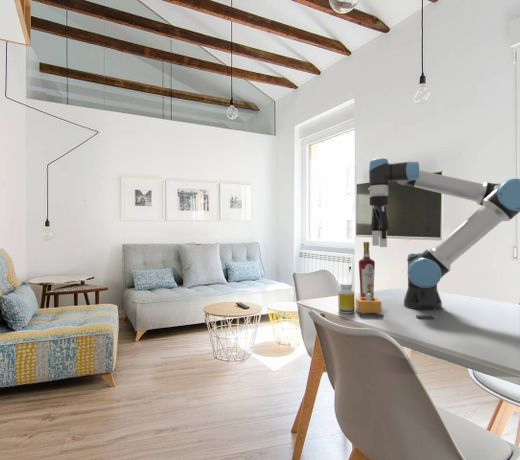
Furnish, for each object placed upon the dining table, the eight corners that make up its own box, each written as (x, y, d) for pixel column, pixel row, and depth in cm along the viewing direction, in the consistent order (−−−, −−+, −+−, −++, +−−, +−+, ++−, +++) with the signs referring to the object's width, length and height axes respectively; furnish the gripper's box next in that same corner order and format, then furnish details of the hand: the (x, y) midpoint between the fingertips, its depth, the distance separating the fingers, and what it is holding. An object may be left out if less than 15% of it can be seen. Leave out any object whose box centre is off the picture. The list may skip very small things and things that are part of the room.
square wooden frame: (376, 308, 148) (376, 297, 148) (381, 313, 140) (381, 301, 140) (355, 308, 149) (355, 297, 149) (359, 312, 141) (358, 301, 141)
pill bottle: (355, 314, 143) (354, 285, 143) (338, 313, 144) (338, 284, 144) (354, 310, 149) (353, 282, 149) (338, 310, 151) (338, 282, 151)
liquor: (372, 300, 172) (371, 241, 172) (377, 303, 164) (377, 242, 164) (356, 300, 171) (356, 241, 172) (361, 303, 164) (361, 242, 164)
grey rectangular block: (432, 317, 136) (432, 315, 136) (434, 319, 134) (434, 316, 134) (415, 317, 137) (415, 315, 137) (418, 318, 135) (418, 316, 135)
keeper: (355, 310, 150) (354, 291, 150) (377, 310, 149) (376, 291, 149) (359, 316, 139) (359, 296, 139) (383, 316, 138) (383, 296, 139)
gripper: (364, 198, 164) (364, 245, 164) (376, 193, 139) (376, 247, 139) (380, 198, 163) (381, 245, 163) (396, 192, 138) (396, 247, 138)
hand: (379, 246), depth 151 cm, fingers open, 13 cm apart
